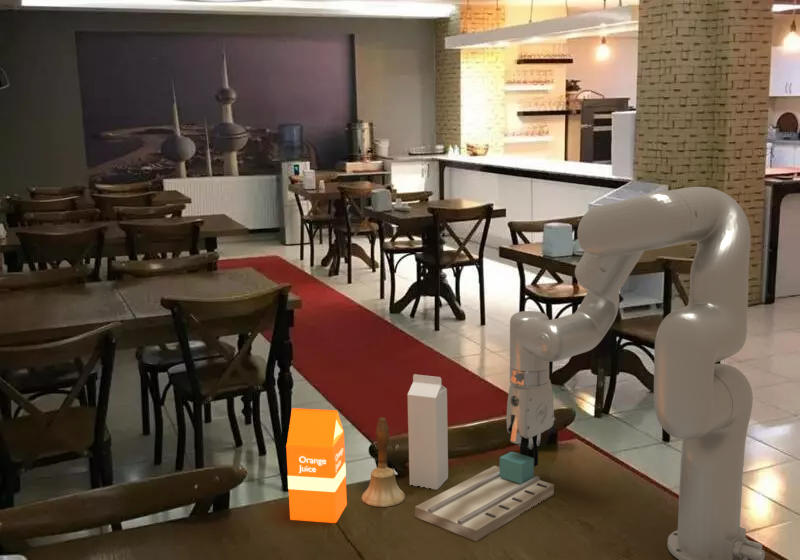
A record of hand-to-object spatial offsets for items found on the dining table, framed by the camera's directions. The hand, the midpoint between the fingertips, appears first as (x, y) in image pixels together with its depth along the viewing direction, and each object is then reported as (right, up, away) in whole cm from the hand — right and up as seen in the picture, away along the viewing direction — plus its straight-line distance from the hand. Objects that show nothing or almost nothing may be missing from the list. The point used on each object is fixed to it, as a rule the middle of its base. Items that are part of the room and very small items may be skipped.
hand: (529, 464), depth 168 cm
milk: (-20, -4, +2) cm, 20 cm away
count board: (-9, -6, -9) cm, 14 cm away
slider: (-3, -2, -3) cm, 4 cm away
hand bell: (-29, -5, -5) cm, 30 cm away
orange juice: (-40, -7, -10) cm, 42 cm away
